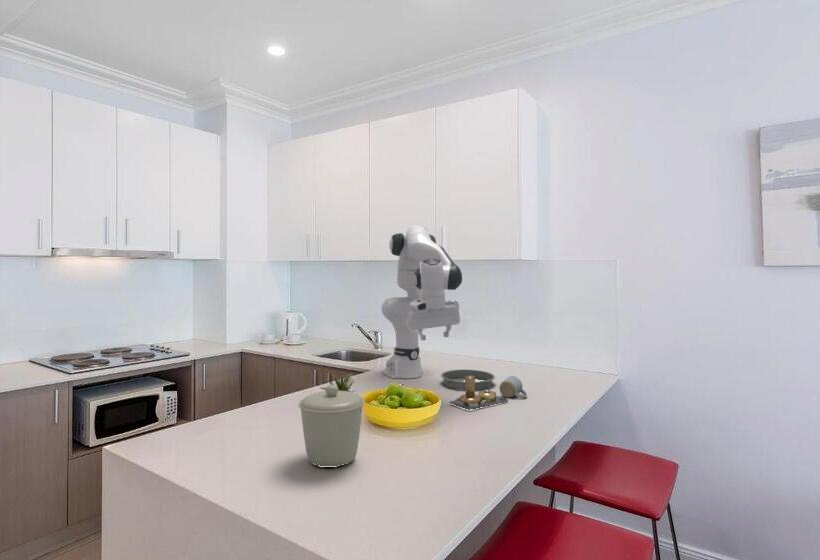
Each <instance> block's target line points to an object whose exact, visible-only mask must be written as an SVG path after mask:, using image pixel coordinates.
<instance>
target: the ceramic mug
mask: <svg viewBox="0 0 820 560" xmlns="http://www.w3.org/2000/svg"><path fill="white" fill-rule="evenodd" d="M499 392H500V394H501V395H502V396H503V398H504V397H505V398H507V397H508V398H514V397H516V398H518V399H522V400H525V399H526V398H527V396H528V393H527V392H526V391H525V390H524V389H523V383H522V381H521V379H520V378H519V377H517V376H514V375H510V376H508V377H507V378H506V379H504V380H503V381H501V382H500V385H499ZM520 393H521V394H520ZM508 398H507V399H508ZM524 398H525V399H524Z"/></svg>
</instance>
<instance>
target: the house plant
mask: <svg viewBox="0 0 820 560" xmlns="http://www.w3.org/2000/svg"><path fill="white" fill-rule="evenodd" d="M352 374H353V372H352V373H349V374H348V375H346V376H344V374H342V376H341V378H339V377H337V376H336V375H334V374H333V373H331V375H332V377H333V379H334V381H335V384H334V383H333V382H332V381H331V380H328V379H326V378H323V381H325V382H326V383H329V385H336V386H337V387H338V391H348V392H352V393H355V390H353V391H351V387H352V386H353V384H354V383H355V382H356V380H355V381H354V379H355V378H353V376H352ZM352 378H353V379H352ZM320 389H322V390H325V389H326V387H320Z"/></svg>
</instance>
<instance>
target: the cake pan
mask: <svg viewBox="0 0 820 560" xmlns="http://www.w3.org/2000/svg"><path fill="white" fill-rule="evenodd" d="M440 376H441V378H442V379H443V382H444V386H446V387H447V386H448V387H447V388H449V387H451V388H450V389H453V388H454V390H458V389H462V390H461V391H465V382H463V381H464V380H465V376H475V379H478V380H484V381H480V382H475V391H480V390H479V389H483V390H486V389H485V388H487V389H489V387H490V386H491V387H492V384H493V382H494V380H495V379H496V376H495V375H494V374H493V373H491V372H487V371H484V370H478V369H453V370H452V369H451V370H447V371H444V372H442V373H441V375H440ZM491 387H490V388H491Z"/></svg>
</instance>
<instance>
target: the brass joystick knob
mask: <svg viewBox="0 0 820 560" xmlns="http://www.w3.org/2000/svg"><path fill="white" fill-rule="evenodd" d="M464 391H465V394H462V395H460V396H459V397H460V401H461V402H463V403H465V405H469V403H478V404H480V403H481V397H480V396H478V394H476V390H475V376H465V390H464Z"/></svg>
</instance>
